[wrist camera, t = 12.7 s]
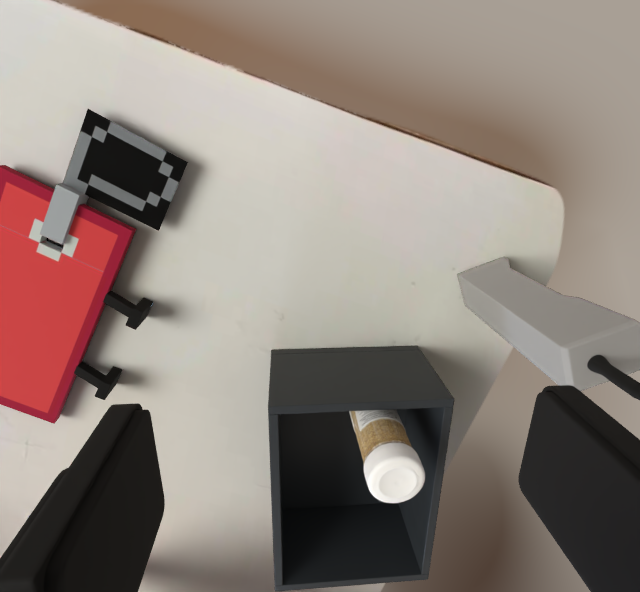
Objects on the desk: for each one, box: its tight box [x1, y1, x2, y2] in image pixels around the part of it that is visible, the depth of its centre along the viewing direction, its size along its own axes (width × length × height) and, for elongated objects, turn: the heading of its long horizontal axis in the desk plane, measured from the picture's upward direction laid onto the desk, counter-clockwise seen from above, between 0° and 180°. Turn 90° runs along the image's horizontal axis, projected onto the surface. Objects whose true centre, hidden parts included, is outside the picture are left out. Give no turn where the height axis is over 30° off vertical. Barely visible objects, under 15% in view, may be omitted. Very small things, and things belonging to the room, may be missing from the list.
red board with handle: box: [0, 109, 188, 423], centre depth 36 cm, size 30×3×15 cm
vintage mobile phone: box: [457, 257, 640, 400], centre depth 30 cm, size 4×5×25 cm
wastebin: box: [268, 346, 454, 591], centre depth 41 cm, size 22×16×10 cm
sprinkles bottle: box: [349, 409, 425, 503], centre depth 37 cm, size 5×5×13 cm
